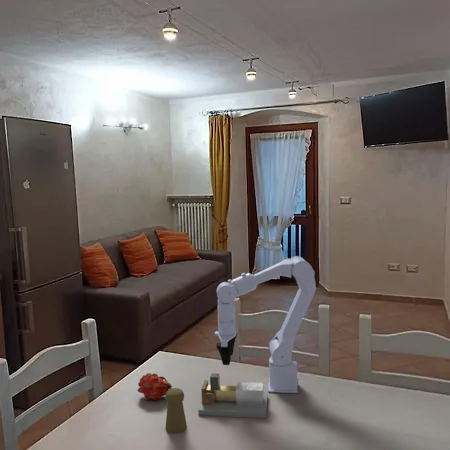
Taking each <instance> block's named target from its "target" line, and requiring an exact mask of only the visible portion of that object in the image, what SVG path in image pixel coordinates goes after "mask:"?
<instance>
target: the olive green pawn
mask: <svg viewBox="0 0 450 450" xmlns="http://www.w3.org/2000/svg"><path fill="white" fill-rule="evenodd" d="M164 396H165V400H166V402H167V408H166V418H165V431H166V432H167V433H169V434H174V435H175V434H176V435H177V434H180V433H181V434H182V433H183V432H185V431H186V430H187V427H188V426H187V425H188V424H187V419H186V415H185V408H184V403H183V401H184V399H185V394H184V391H183V389H181V388H179V387H175V388H174V387H172V389H170V390H168V391H167V393H166V395H164Z"/></svg>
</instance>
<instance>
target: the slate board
mask: <svg viewBox="0 0 450 450" xmlns="http://www.w3.org/2000/svg"><path fill="white" fill-rule="evenodd" d="M267 409H268V392H264V401H263V407H259V406H237V405H236V401H223V400H216V403H215V405H203V404H202V400H201V402H200V405H199V407H198V411H197V412H198V415H199V416H214V417H215V416H217V417H218V416H220V417H221V416H222V417H236V418H237V417H238V418H256V419H257V418H259V419H266V418H267Z"/></svg>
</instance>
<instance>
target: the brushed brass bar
mask: <svg viewBox="0 0 450 450" xmlns="http://www.w3.org/2000/svg"><path fill="white" fill-rule="evenodd" d="M220 380H221V379H220V373H213V372H212V373H210V376H209V384H208V385H207V387H206V392H209V393H215V400H223V401H236V387H237V385H224V384H223V385H221V384H220V383H221V382H220Z"/></svg>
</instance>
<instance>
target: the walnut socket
mask: <svg viewBox="0 0 450 450" xmlns="http://www.w3.org/2000/svg"><path fill="white" fill-rule="evenodd" d="M207 385H209V380H208V379H206V380H204V381H203V384H202V386H201V401H202V404H203V405H215V403H216V400H215V393H209V392H206V387H207Z"/></svg>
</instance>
